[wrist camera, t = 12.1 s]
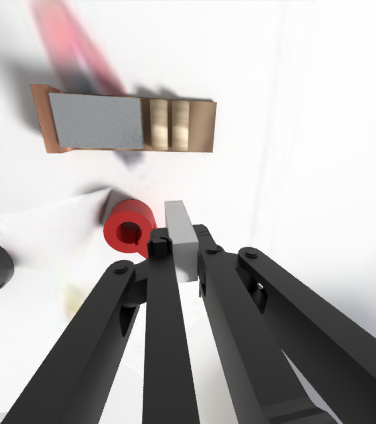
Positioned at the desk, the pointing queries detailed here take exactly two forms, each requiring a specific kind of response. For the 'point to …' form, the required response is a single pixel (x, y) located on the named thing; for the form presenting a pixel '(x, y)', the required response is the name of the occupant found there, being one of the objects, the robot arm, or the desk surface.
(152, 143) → the cylinder
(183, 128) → the roller
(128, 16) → the desk surface
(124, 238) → the lever
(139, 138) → the slab
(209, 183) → the desk surface
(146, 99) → the board
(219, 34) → the desk surface
